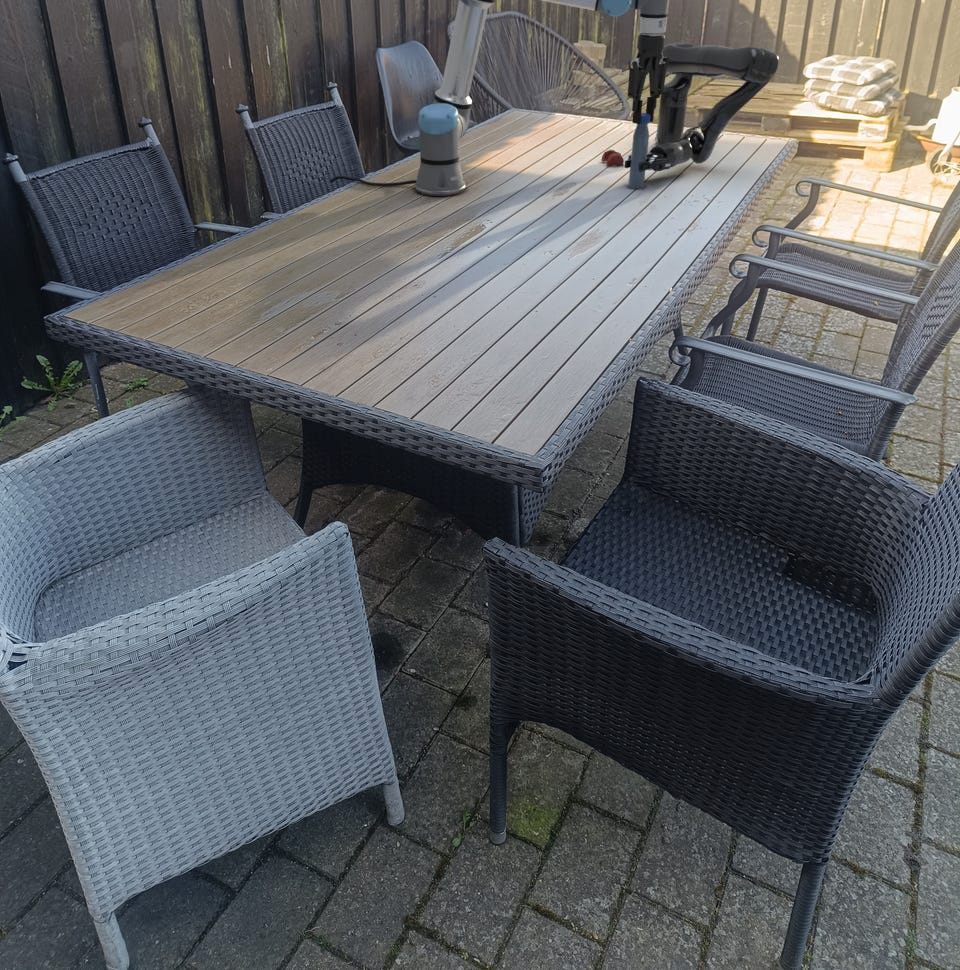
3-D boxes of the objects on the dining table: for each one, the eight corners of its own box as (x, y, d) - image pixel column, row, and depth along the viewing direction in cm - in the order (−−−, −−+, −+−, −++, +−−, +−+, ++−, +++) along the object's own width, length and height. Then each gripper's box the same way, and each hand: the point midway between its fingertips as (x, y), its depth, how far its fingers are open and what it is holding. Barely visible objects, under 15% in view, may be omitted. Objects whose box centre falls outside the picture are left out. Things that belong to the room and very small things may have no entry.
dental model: (616, 146, 283) (625, 152, 277) (615, 159, 286) (624, 165, 280) (600, 148, 282) (609, 154, 276) (600, 161, 285) (608, 167, 279)
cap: (641, 124, 248) (641, 116, 247) (632, 121, 251) (633, 113, 250) (652, 122, 249) (653, 115, 248) (644, 119, 252) (644, 112, 251)
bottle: (624, 186, 262) (631, 115, 250) (636, 183, 264) (643, 113, 252) (635, 189, 258) (642, 118, 247) (646, 187, 261) (654, 116, 249)
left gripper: (636, 38, 230) (628, 128, 244) (684, 33, 238) (673, 121, 251) (619, 34, 236) (611, 123, 249) (666, 30, 243) (656, 116, 256)
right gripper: (649, 139, 267) (615, 149, 258) (686, 147, 259) (653, 158, 249) (646, 163, 272) (613, 174, 262) (683, 173, 263) (650, 183, 254)
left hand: (642, 122), depth 250 cm, fingers closed on cap, 4 cm apart
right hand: (632, 166), depth 256 cm, fingers closed on bottle, 4 cm apart
